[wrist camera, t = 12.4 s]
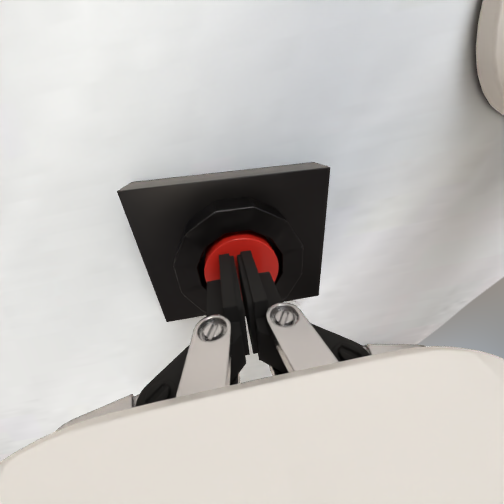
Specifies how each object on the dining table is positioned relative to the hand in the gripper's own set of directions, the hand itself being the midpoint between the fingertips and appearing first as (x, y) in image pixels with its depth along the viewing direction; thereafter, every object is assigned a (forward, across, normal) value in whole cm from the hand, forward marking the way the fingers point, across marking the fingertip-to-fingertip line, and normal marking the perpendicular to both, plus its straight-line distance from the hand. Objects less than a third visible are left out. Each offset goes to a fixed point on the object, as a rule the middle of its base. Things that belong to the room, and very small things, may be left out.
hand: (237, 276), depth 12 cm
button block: (+4, 0, 0) cm, 4 cm away
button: (+2, 0, 0) cm, 2 cm away
